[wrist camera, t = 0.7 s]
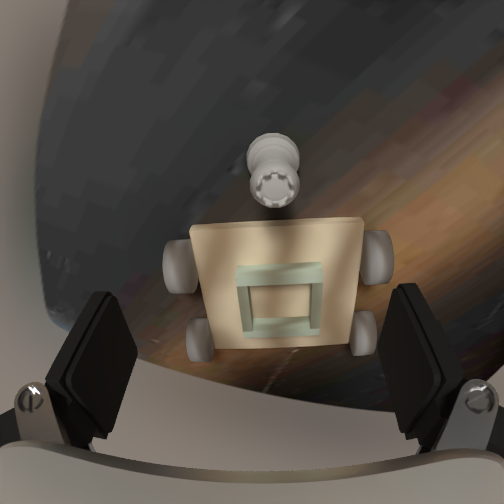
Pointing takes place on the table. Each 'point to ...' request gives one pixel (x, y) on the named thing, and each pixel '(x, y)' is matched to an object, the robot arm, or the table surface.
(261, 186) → the rook chess piece
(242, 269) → the car chassis
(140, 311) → the table surface
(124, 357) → the robot arm
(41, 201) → the table surface
